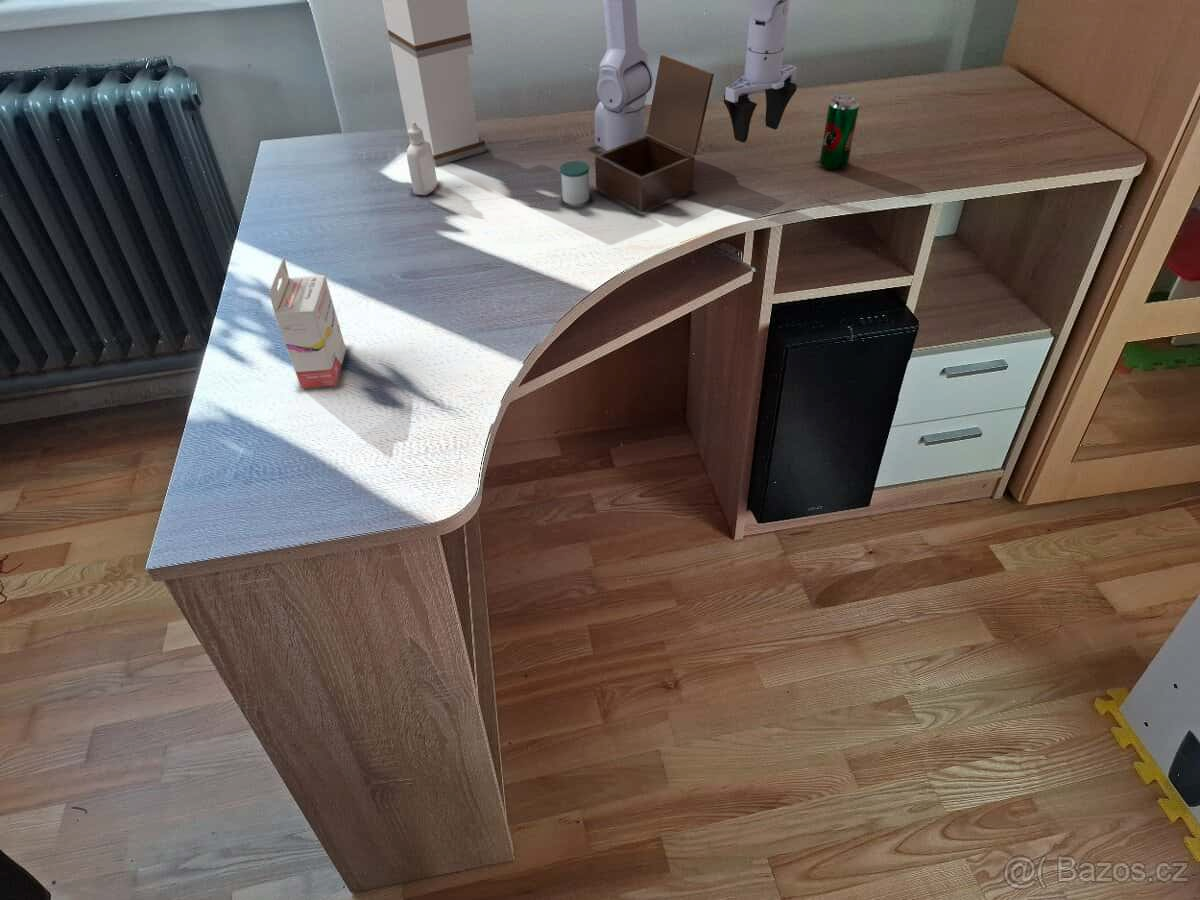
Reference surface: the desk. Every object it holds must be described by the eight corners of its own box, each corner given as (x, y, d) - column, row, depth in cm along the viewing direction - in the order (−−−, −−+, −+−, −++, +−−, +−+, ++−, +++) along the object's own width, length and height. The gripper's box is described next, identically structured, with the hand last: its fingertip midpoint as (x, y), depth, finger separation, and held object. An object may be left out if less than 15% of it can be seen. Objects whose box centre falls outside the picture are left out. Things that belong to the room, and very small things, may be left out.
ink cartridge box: (339, 387, 106) (307, 290, 96) (300, 389, 106) (264, 293, 96) (348, 347, 112) (319, 252, 102) (311, 350, 112) (279, 255, 102)
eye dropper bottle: (445, 187, 146) (434, 120, 138) (420, 198, 143) (406, 130, 135) (431, 179, 148) (419, 113, 140) (405, 190, 145) (392, 123, 137)
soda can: (847, 172, 146) (860, 104, 137) (818, 170, 146) (830, 103, 138) (847, 160, 149) (860, 93, 141) (819, 158, 150) (830, 91, 142)
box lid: (711, 73, 129) (714, 73, 130) (660, 54, 136) (663, 54, 137) (693, 155, 137) (696, 154, 137) (646, 133, 143) (648, 133, 144)
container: (556, 201, 141) (554, 166, 137) (578, 192, 143) (576, 158, 139) (573, 211, 138) (572, 176, 134) (595, 202, 140) (594, 167, 136)
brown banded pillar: (485, 151, 156) (458, -59, 132) (435, 166, 152) (398, -48, 128) (458, 131, 163) (428, -72, 139) (410, 145, 159) (370, -61, 135)
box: (641, 216, 136) (641, 179, 132) (595, 191, 143) (594, 155, 139) (692, 193, 142) (694, 157, 137) (646, 170, 148) (647, 135, 144)
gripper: (752, 65, 121) (743, 154, 131) (815, 43, 128) (803, 128, 137) (718, 54, 126) (712, 140, 135) (781, 32, 132) (771, 116, 141)
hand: (756, 133), depth 136 cm, fingers open, 7 cm apart
